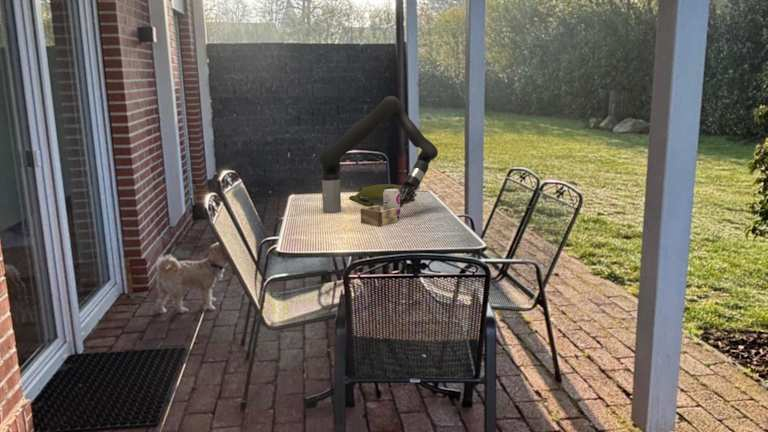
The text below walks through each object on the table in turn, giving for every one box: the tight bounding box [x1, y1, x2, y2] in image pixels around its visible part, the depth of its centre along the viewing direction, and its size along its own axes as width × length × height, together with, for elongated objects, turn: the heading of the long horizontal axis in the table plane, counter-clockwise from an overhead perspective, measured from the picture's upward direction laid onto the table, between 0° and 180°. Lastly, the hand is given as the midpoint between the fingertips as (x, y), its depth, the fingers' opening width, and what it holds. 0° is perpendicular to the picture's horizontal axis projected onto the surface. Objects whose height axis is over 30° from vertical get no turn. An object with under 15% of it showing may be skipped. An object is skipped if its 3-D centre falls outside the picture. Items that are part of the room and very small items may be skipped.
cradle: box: [360, 205, 398, 228], centre depth 316 cm, size 12×13×7 cm
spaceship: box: [348, 183, 416, 207], centre depth 374 cm, size 35×31×10 cm
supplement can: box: [382, 189, 401, 222], centre depth 321 cm, size 8×8×15 cm
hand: (398, 206), depth 325 cm, fingers closed
